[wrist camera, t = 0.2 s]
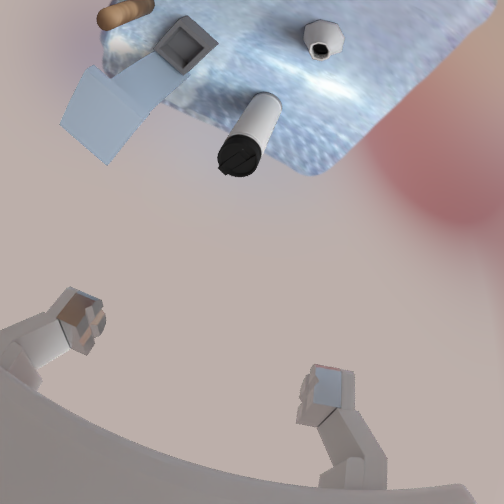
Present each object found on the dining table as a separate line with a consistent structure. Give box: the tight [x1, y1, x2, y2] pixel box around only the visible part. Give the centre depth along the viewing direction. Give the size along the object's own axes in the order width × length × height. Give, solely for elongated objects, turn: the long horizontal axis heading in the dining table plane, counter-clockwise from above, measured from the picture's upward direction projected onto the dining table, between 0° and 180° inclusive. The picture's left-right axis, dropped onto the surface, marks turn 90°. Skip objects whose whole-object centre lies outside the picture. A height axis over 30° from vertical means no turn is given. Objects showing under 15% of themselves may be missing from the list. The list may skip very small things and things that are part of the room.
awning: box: [60, 51, 190, 165], centre depth 41 cm, size 12×10×28 cm
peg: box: [97, 0, 155, 31], centre depth 38 cm, size 4×4×12 cm
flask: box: [303, 20, 345, 61], centre depth 39 cm, size 7×7×10 cm
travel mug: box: [217, 92, 282, 177], centre depth 50 cm, size 6×7×20 cm
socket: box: [153, 16, 219, 76], centre depth 47 cm, size 8×8×4 cm
